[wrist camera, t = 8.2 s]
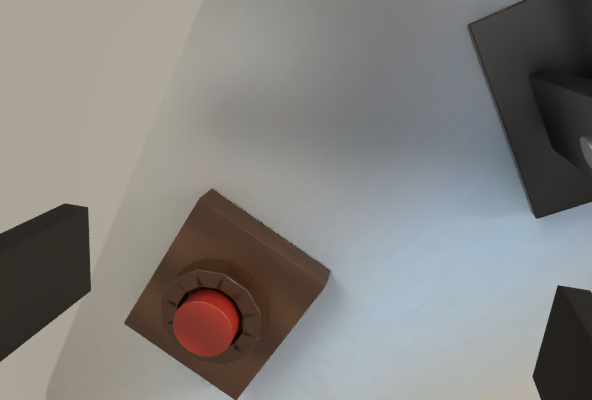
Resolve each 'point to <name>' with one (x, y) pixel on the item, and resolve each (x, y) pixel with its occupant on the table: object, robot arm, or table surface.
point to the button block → (229, 289)
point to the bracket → (543, 95)
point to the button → (206, 322)
